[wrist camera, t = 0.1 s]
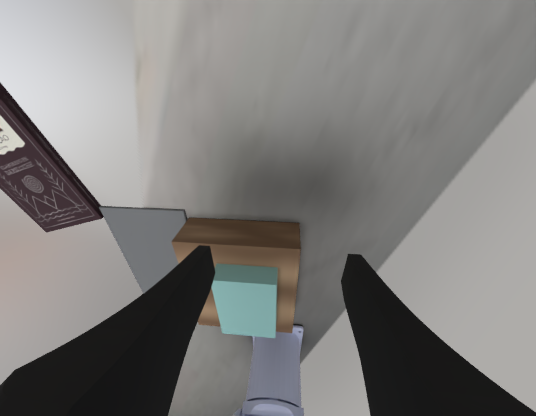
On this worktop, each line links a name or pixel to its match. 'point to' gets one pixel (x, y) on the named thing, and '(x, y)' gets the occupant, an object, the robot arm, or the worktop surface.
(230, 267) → the teal rectangular block
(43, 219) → the chocolate bar
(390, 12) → the worktop surface
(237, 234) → the brown flat block
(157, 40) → the worktop surface
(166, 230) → the mat
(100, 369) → the robot arm
